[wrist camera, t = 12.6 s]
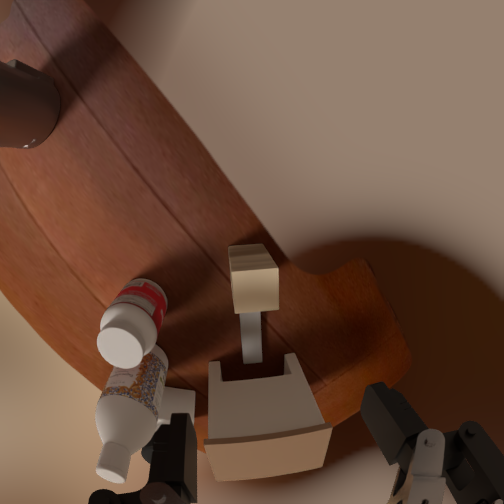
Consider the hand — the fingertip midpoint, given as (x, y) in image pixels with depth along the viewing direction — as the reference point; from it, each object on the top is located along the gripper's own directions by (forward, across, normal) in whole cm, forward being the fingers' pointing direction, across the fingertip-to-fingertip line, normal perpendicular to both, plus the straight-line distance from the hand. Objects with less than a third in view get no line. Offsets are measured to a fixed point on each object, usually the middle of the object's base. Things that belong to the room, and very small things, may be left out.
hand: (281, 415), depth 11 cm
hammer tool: (+23, -1, +6) cm, 24 cm away
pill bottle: (+24, +12, +4) cm, 27 cm away
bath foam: (+23, +14, +13) cm, 30 cm away
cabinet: (+23, -1, +18) cm, 29 cm away
